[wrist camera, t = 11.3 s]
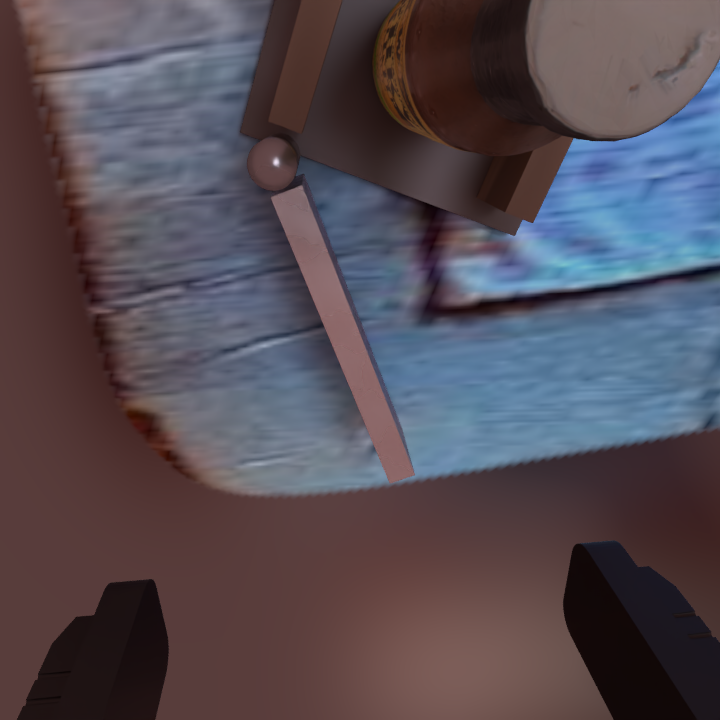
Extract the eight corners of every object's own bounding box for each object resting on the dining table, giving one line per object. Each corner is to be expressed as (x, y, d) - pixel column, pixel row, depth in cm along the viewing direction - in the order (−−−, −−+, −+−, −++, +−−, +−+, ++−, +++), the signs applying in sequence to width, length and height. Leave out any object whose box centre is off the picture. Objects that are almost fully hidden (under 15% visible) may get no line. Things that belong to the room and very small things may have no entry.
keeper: (254, 141, 28) (239, 149, 22) (291, 127, 28) (285, 131, 22) (376, 437, 36) (389, 501, 30) (405, 427, 36) (424, 489, 30)
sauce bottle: (375, -14, 26) (511, -287, 8) (502, 4, 27) (886, -212, 9) (361, 132, 29) (441, 168, 11) (477, 145, 30) (736, 199, 11)
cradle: (632, -35, 28) (712, -72, 22) (509, 232, 33) (548, 257, 27) (328, -193, 24) (332, -281, 19) (242, 131, 29) (226, 136, 24)
